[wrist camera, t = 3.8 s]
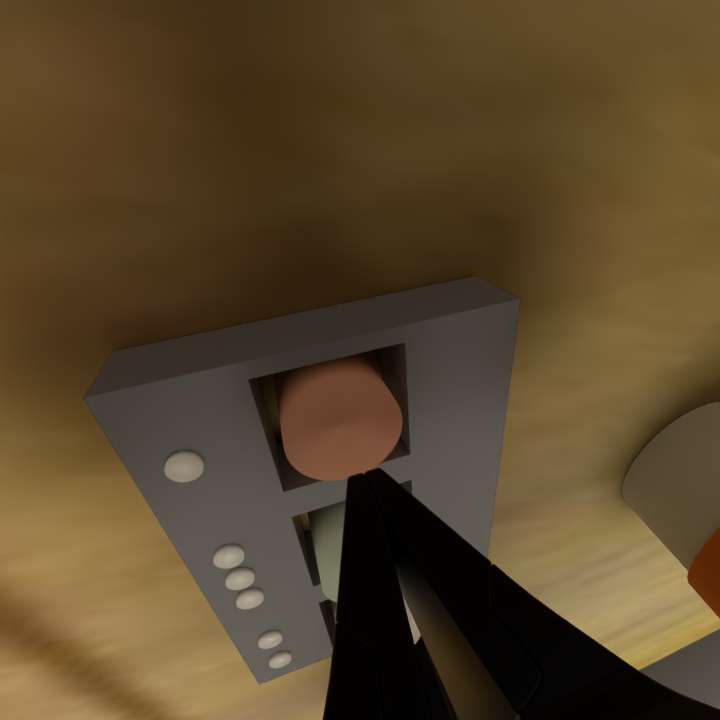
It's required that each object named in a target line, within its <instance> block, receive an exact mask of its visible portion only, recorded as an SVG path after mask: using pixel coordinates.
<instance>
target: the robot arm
mask: <svg viewBox="0 0 720 720" xmlns="http://www.w3.org/2000/svg"><path fill="white" fill-rule="evenodd" d="M402 594H403V595H402ZM403 596H404V599H405V601H406V603H407V605H408V607H409V610H410V612H411V614H412V616H413V618H414V621H415V623H416V625H417V627H418V630H419V632H420V634H421V636H422V637H420V638H419V640H418V641H417V643H416V644H414V640H413V636H412V632H411V628H410V624H409V620H408V616H407V612H406V608H405V604H404V600H403ZM323 720H720V709H717V708H715V707H712V706H710V705H707V704H705V703H702V702H700V701H697V700H695V699H692V698H689V697H687V696H685V695H682V694H680V693H678V692H676V691H674V690H672V689H669V688H668V687H666V686H664V685H662V684H660V683H658V682H656V681H655V680H653V679H651V678H650V677H648V676H646V675H644V674H643V673H641V672H640V671H638V670H637V669H635V668H634V667H632V666H631V665H629V664H628V663H626V662H625V661H624V660H622V659H621V658H619V657H618V656H617V655H615V654H614V653H612V652H611V651H609V650H608V649H607V648H605V647H604V646H602V645H601V644H599V643H598V642H597V641H595V640H594V639H592V638H591V637H589V636H588V635H587V634H585V633H584V632H582V631H581V630H579V629H578V628H577V627H575V626H574V625H572V624H571V623H569V622H568V621H567V620H565V619H564V618H562V617H561V616H559V615H558V614H557V613H555V612H554V611H553V610H551V609H550V608H548V607H547V606H546V605H544V604H543V603H542V602H540V601H539V600H538V599H536V598H535V597H533V596H532V595H531V594H530V593H528V592H527V591H526V590H525V589H523V588H522V587H521V586H520V585H518V584H517V583H516V582H515V581H514V580H512V579H511V578H510V577H509V576H507V575H506V574H505V573H504V572H503V571H502V570H500V569H499V568H498V567H497V566H496V565H494V564H492V566H491V561H490V560H488V559H487V558H486V557H485V556H484V555H483V554H481V553H480V552H479V551H478V550H477V549H476V548H474V547H473V546H472V545H471V544H470V543H468V542H467V541H466V540H465V539H464V538H463V537H461V536H460V535H459V534H458V533H457V532H456V531H454V530H453V529H452V528H451V527H450V526H448V525H447V524H446V523H445V522H444V521H443V520H441V519H440V518H439V517H438V516H437V515H436V514H434V513H433V512H432V511H431V510H430V509H429V508H427V507H426V506H425V505H424V504H423V503H421V502H420V501H419V500H418V499H417V498H416V497H414V496H413V495H412V494H411V493H410V492H409V491H407V490H406V489H405V488H404V487H403V486H401V485H400V484H399V483H398V482H397V481H396V480H394V479H393V478H392V477H391V476H390V475H389V474H387V473H386V472H385V471H384V470H383V469H381V468H374V469H371V470H368V471H366V472H365V473H358V474H355V475H351V476H349V477H348V479H347V489H346V501H345V513H344V525H343V537H342V549H341V561H340V573H339V585H338V597H337V608H336V624H335V629H334V642H333V652H332V660H331V669H330V678H329V684H328V690H327V696H326V702H325V708H324V715H323Z"/></svg>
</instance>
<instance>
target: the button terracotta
mask: <svg viewBox="0 0 720 720" xmlns="http://www.w3.org/2000/svg"><path fill="white" fill-rule="evenodd" d="M275 394H276V400H277V407H278V413H279V420H280V426H281V433H282V439H283V446H284V451H285V454H286V457H287V459H288V460H289V462H290V464H291V465H292V466H293V467H294V468H295V469H296V470H297V471H299V472H300V473H302V474H304V475H306V476H308V477H310V478H314V479H318V480H325V481H336V480H344V479H348V477H349V476H351V475H355V474H358V473H365V472H366V471H368V470H370V469H372V468H374V467H375V466H377V465H378V464H379V463H380V462H382V461H383V460H384V459H385V458H386V457H387V456H388V455H389V454H390V452H391V451H392V450H393V448H394V447H395V445H396V444H397V442H398V439H399V437H400V434H401V430H402V413H401V410H400V407H399V405H398V403H397V402H396V400H395V399H394V397H393V396H392V394H391V392H390V391H389V389H388V388H387V386H386V385H385V383H384V381H383V380H382V378H381V377H380V375H379V374H378V372H377V370H376V369H375V367H374V366H373V364H372V363H371V361H370V359H369V358H368V356H367V355H366V354H365V352H362V353H358V354H354V355H350V356H345V357H341V358H337V359H333V360H328V361H324V362H320V363H316V364H311V365H307V366H303V367H299V368H295V369H290V370H286V371H282V372H278V373H276V377H275Z"/></svg>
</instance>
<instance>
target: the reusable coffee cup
mask: <svg viewBox="0 0 720 720" xmlns="http://www.w3.org/2000/svg"><path fill="white" fill-rule="evenodd" d="M622 496H623V498H624V500H625V502H626V503H627V504H628V505H629V506H630V507H631V508H632V509H633V510H634V512H635V513H636V514H637V515H638V516H639V517H640V518H641V519H642V520H643V522H644V523H645V524H646V525H647V526H648V527H649V528H650V529H651V530H652V532H653V533H654V534H655V535H656V536H657V537H658V538H659V539H660V540H661V542H662V543H663V544H664V545H665V546H666V547H667V548H668V549H669V550H670V552H671V553H672V554H673V555H674V556H675V557H676V558H677V559H678V560H679V562H680V563H681V564H682V565H683V566H684V567H685V568H686V569H687V570H688V576H687V578H688V583H689V584H690V585H691V586H692V587H693V589H694V590H695V591H696V592H697V593H698V594H699V595H700V597H701V598H702V599H703V600H704V601H705V602H706V603H707V604H708V606H709V607H710V608H711V609H712V610H713V611H714V612H715V614H716V615H717V616H718V617H719V618H720V402H714V403H709V404H706V405H703V406H701V407H698V408H696V409H693V410H692V411H690V412H688V413H686V414H684V415H683V416H681V417H679V418H678V419H677V420H675V421H674V422H672V423H671V424H669V425H668V426H667V427H666V428H664V429H663V430H662V431H661V432H660V433H658V434H657V435H656V436H655V437H654V438H653V439H652V440H651V441H650V442H649V443H648V444H647V445H646V446H645V447H644V449H643V450H642V451H641V452H640V453H639V455H638V456H637V457H636V459H635V460H634V462H633V463H632V465H631V466H630V468H629V470H628V472H627V474H626V476H625V478H624V482H623V485H622Z"/></svg>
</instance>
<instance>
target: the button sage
mask: <svg viewBox="0 0 720 720" xmlns="http://www.w3.org/2000/svg"><path fill="white" fill-rule="evenodd" d="M345 501H346V500H345ZM345 501H342V502H339V503H335V504H332V505H329V506H326V507H323V508H319V509H316V510H313V511H310V512H308V518H309V524H310V529H311V534H312V539H313V544H314V549H315V555H316V560H317V565H318V570H319V575H320V581H321V586H322V591H323V593H324V594H325V596H326V597H327V598H328V599H330V600H332V601H334V602H337V597H338V585H339V573H340V561H341V549H342V537H343V525H344V513H345Z"/></svg>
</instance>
